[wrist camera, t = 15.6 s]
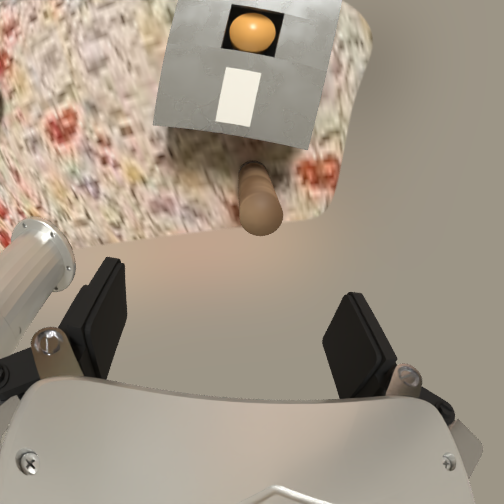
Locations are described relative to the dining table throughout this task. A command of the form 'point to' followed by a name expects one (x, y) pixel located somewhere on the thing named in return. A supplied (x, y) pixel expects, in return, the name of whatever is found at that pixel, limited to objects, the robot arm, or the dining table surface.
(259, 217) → the brown rounded rod
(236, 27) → the button
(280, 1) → the box
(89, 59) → the dining table surface
